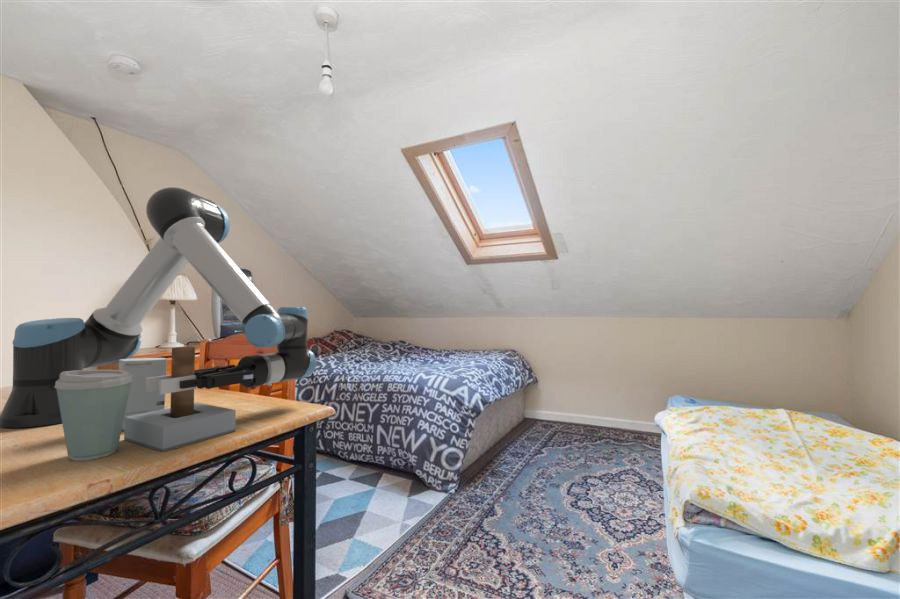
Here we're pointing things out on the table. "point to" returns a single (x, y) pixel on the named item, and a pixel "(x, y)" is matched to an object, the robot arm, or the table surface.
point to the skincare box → (143, 385)
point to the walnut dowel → (179, 368)
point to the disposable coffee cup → (92, 411)
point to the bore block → (178, 427)
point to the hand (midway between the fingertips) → (153, 386)
